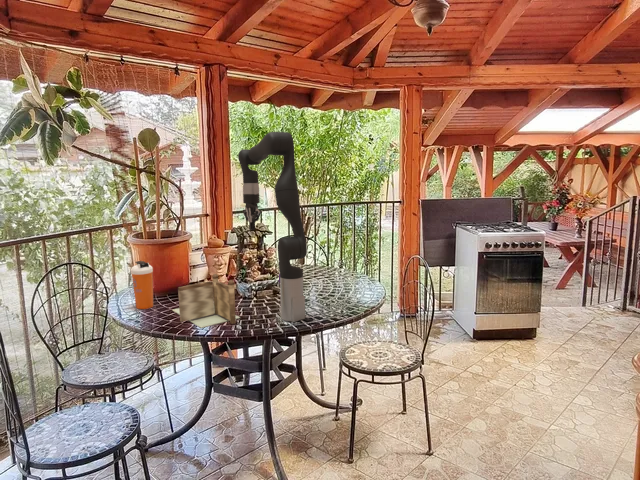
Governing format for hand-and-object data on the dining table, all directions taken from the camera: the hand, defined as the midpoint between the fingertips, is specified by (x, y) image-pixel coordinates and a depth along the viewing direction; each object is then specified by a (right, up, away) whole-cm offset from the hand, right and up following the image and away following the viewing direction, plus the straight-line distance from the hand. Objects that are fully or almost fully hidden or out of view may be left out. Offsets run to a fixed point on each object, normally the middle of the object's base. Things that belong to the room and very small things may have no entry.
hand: (252, 230), depth 210 cm
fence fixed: (-7, -36, -30) cm, 47 cm away
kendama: (+15, -29, +16) cm, 36 cm away
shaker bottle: (-45, -34, -13) cm, 58 cm away
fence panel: (-17, -36, -30) cm, 50 cm away
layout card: (-16, -36, -24) cm, 46 cm away
